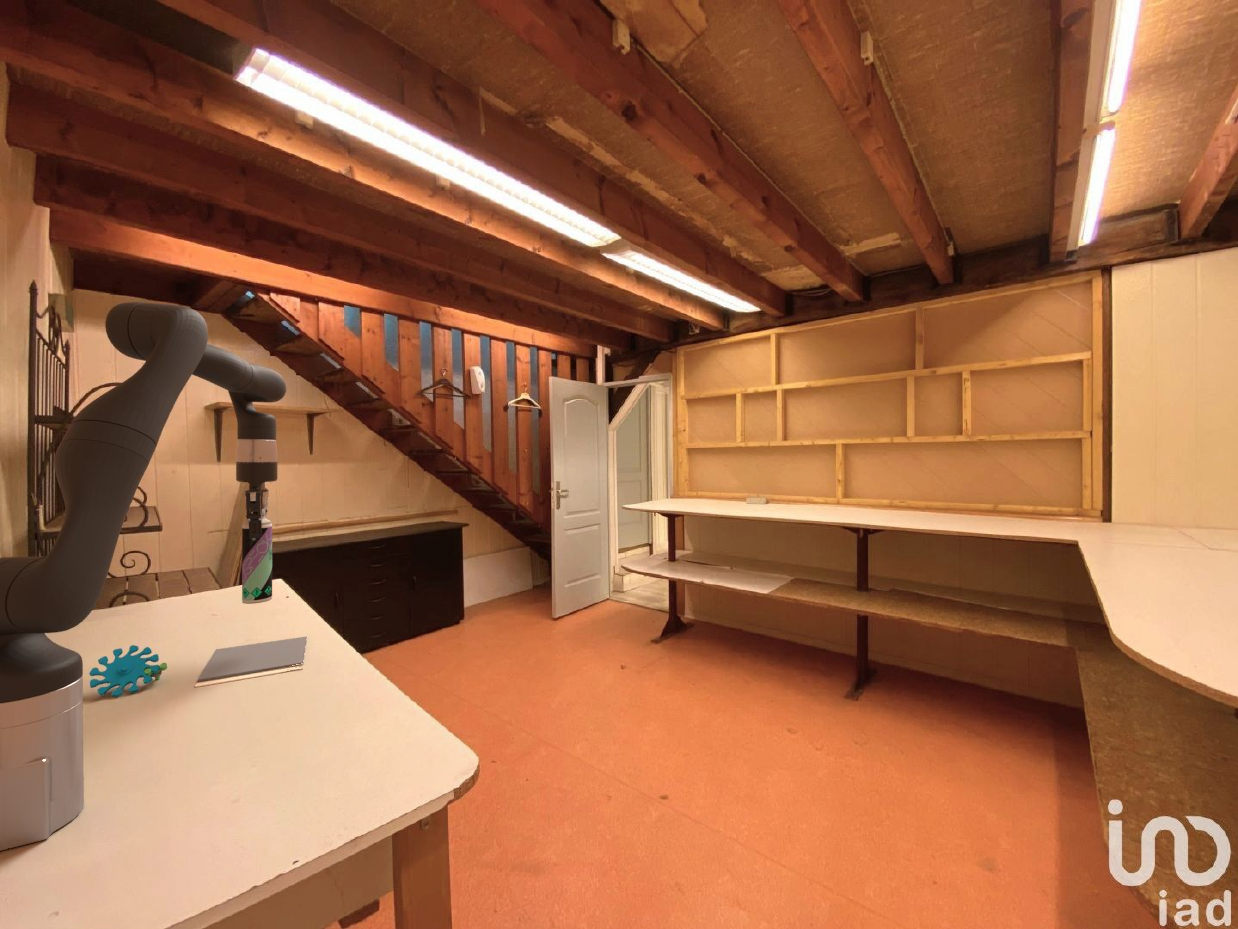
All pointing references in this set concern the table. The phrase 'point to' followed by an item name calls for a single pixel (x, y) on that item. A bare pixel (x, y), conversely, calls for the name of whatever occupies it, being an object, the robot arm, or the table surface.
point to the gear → (126, 670)
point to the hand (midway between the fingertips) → (257, 535)
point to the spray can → (257, 564)
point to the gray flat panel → (253, 660)
